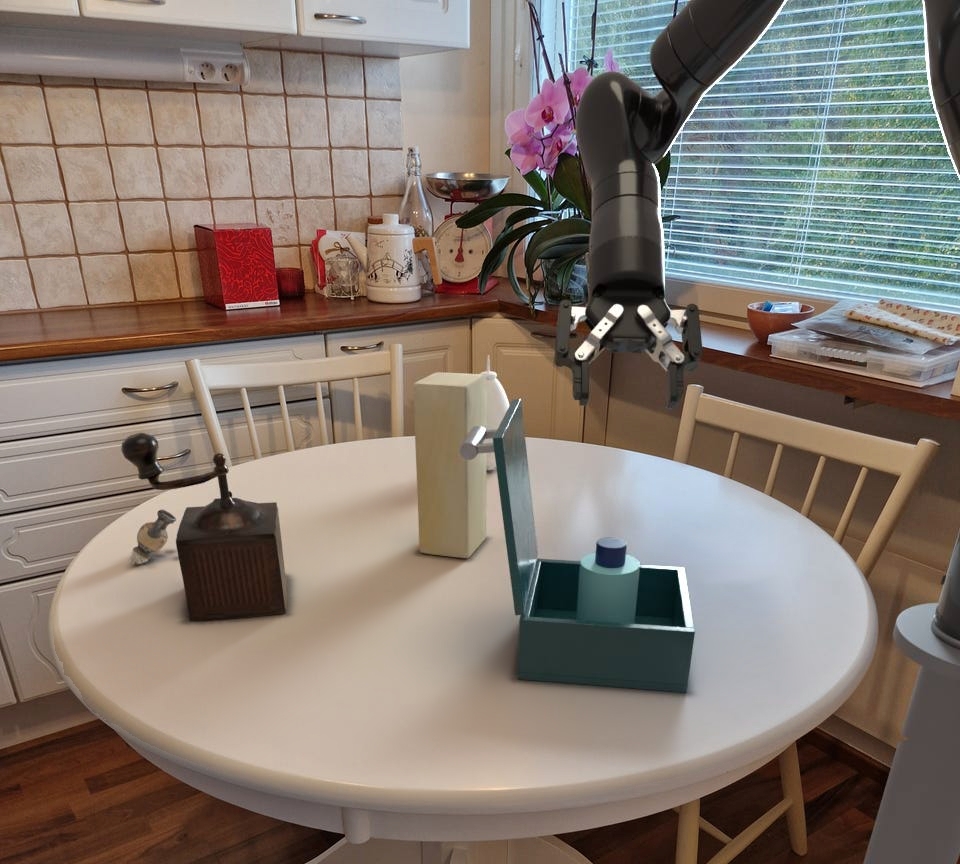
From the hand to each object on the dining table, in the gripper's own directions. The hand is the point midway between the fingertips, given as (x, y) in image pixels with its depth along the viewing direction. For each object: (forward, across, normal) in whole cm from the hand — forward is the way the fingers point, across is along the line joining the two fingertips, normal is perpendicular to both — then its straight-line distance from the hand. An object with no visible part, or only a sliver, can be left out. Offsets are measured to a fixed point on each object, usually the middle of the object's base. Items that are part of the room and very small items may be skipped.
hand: (628, 403), depth 82 cm
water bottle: (+23, -2, +7) cm, 24 cm away
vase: (+9, -54, +26) cm, 60 cm away
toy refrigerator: (+5, -18, +29) cm, 35 cm away
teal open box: (+23, -1, +8) cm, 24 cm away
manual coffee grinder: (+16, -43, +17) cm, 49 cm away
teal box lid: (+11, -10, -1) cm, 15 cm away
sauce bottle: (-17, -13, +54) cm, 59 cm away
